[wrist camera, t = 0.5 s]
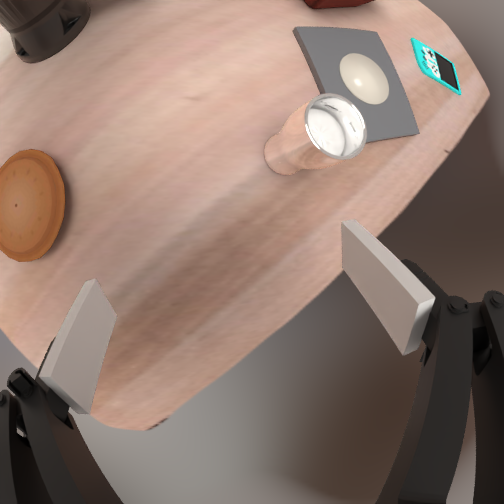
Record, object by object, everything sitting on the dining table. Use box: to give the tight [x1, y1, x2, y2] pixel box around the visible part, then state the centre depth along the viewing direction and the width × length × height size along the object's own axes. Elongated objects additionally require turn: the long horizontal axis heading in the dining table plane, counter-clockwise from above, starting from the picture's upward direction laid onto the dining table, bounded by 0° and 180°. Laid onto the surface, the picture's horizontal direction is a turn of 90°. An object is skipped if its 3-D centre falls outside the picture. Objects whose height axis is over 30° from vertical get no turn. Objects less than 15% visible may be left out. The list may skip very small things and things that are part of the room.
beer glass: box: [264, 93, 367, 175], centre depth 29 cm, size 7×7×15 cm
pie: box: [0, 149, 65, 262], centre depth 27 cm, size 16×16×5 cm
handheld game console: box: [411, 38, 461, 95], centre depth 40 cm, size 10×16×1 cm, turn 89°
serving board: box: [293, 27, 420, 143], centre depth 36 cm, size 22×18×2 cm
